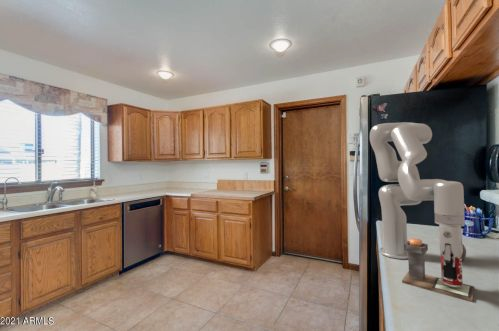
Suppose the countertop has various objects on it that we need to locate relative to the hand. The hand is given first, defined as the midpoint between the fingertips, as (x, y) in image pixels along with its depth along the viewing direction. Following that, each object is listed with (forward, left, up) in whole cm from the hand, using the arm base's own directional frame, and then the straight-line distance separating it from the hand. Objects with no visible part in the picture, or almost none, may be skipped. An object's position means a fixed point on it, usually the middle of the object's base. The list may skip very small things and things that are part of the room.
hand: (451, 274), depth 78 cm
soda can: (0, 0, -3) cm, 3 cm away
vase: (-28, +14, -5) cm, 32 cm away
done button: (-5, -8, +7) cm, 12 cm away
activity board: (-2, -3, -5) cm, 6 cm away
